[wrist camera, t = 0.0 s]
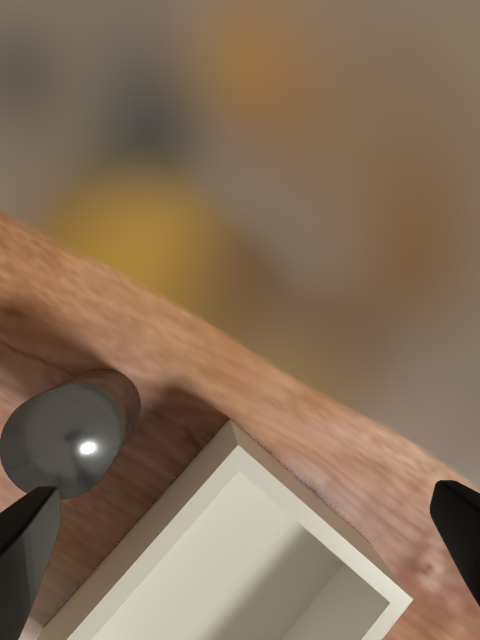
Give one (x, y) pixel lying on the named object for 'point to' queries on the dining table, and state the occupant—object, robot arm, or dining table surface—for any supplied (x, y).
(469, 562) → the robot arm
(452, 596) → the dining table surface
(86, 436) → the metal cylinder
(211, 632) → the tote
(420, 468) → the dining table surface
